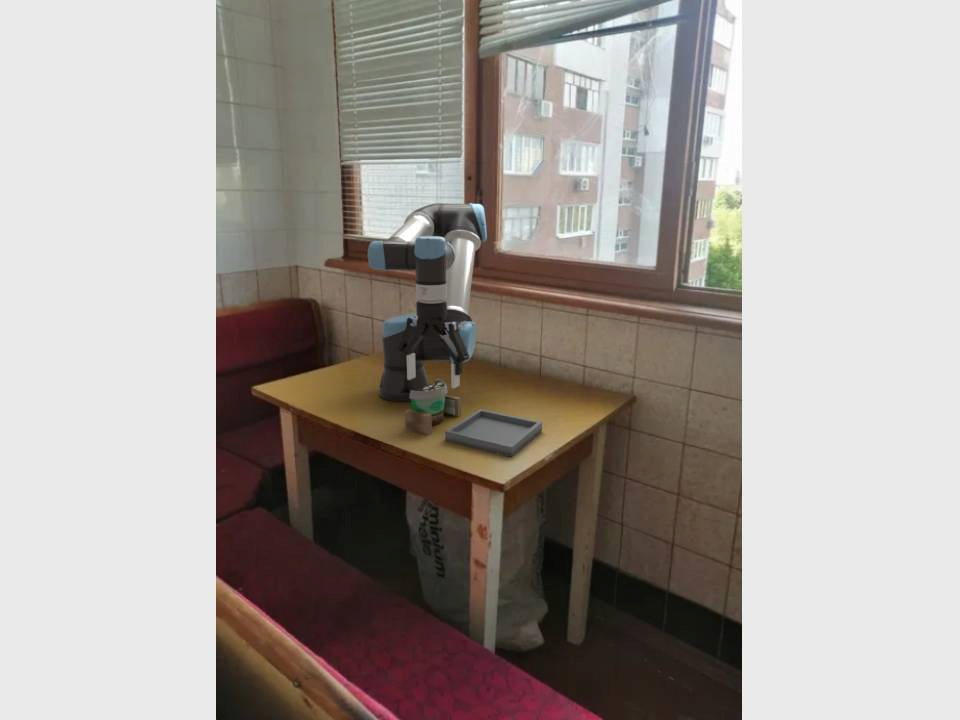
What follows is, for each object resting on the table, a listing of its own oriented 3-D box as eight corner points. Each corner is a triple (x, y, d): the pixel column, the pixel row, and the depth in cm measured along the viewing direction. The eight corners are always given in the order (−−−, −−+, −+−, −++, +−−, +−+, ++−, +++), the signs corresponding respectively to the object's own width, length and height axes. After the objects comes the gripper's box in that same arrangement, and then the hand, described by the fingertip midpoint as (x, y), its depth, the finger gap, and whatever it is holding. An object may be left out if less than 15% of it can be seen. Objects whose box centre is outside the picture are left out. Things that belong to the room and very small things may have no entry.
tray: (445, 440, 143) (445, 431, 142) (480, 417, 157) (480, 409, 156) (511, 457, 134) (511, 447, 134) (541, 431, 148) (542, 422, 148)
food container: (429, 432, 148) (428, 395, 145) (410, 427, 151) (409, 390, 148) (457, 416, 158) (456, 381, 155) (438, 412, 161) (437, 377, 158)
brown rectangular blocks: (405, 429, 149) (404, 411, 148) (439, 410, 162) (439, 392, 161) (428, 435, 146) (427, 416, 145) (461, 414, 159) (461, 397, 158)
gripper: (381, 298, 148) (385, 378, 154) (467, 307, 136) (467, 394, 142) (400, 294, 154) (402, 371, 160) (483, 302, 142) (482, 386, 148)
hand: (433, 382), depth 151 cm, fingers open, 13 cm apart
